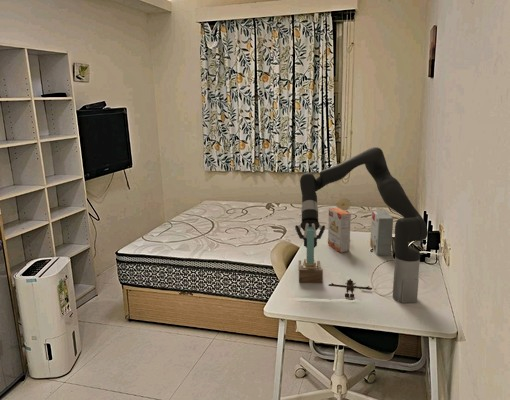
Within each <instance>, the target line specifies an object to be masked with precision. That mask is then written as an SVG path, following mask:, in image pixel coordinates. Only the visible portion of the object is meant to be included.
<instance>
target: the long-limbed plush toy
mask: <svg viewBox="0 0 510 400" xmlns="http://www.w3.org/2000/svg"><path fill="white" fill-rule="evenodd" d="M328 286H330V287H340V288H346V292H345V293H344V297H345V298H350V299H349V300H351V301H353V300H354V299H355V294H354V290H355V289H359V290H368V291H371V290H373V287H370V285H368V286H357V285H356V282H354V281H353V280H352V279H351V278H350V279H349V280H347V281H346V282H345V284H335V283H332V282H331V283H329V284H328ZM349 291H350V293H349Z"/></svg>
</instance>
